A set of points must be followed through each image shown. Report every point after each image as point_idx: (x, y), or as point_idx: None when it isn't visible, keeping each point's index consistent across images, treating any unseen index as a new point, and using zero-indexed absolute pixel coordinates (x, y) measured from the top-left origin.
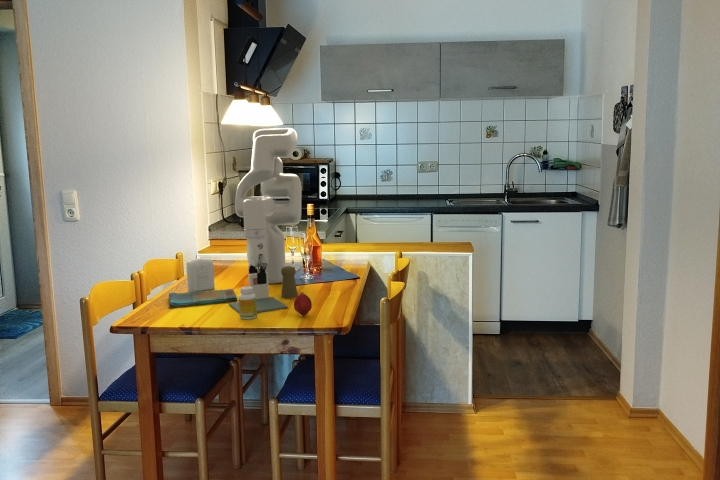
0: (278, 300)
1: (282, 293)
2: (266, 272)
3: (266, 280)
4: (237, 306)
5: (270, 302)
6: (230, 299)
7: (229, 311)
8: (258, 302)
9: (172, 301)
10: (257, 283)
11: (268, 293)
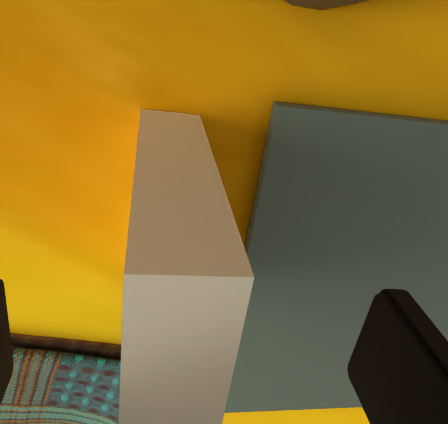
0: (430, 124)
1: (341, 4)
2: (193, 279)
3: (424, 313)
4: (323, 391)
5: (422, 204)
6: None
7: (342, 420)
8: (345, 273)
9: None
10: (353, 378)
11: (204, 131)
